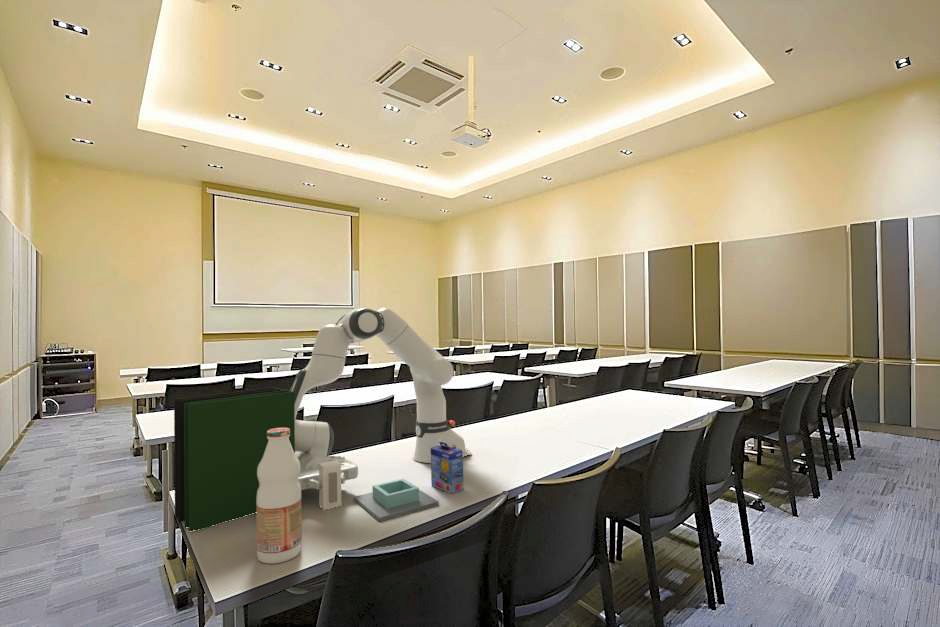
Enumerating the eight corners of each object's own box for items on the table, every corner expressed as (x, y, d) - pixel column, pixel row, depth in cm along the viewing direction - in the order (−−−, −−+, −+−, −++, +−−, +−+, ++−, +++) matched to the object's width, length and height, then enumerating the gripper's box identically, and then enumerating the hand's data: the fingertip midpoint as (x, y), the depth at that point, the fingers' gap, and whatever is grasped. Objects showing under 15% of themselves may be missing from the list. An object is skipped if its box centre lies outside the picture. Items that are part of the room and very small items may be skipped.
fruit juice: (260, 569, 98) (258, 437, 98) (254, 551, 106) (253, 428, 106) (306, 556, 103) (304, 431, 103) (297, 540, 111) (295, 423, 111)
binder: (190, 533, 115) (189, 405, 115) (173, 517, 125) (172, 398, 125) (295, 501, 135) (294, 391, 135) (273, 489, 145) (272, 387, 145)
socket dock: (409, 486, 145) (409, 472, 145) (438, 505, 130) (438, 489, 131) (354, 500, 135) (353, 484, 135) (379, 521, 120) (379, 504, 120)
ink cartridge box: (430, 486, 145) (429, 440, 146) (443, 481, 149) (442, 436, 149) (451, 494, 138) (450, 446, 139) (464, 489, 142) (463, 442, 142)
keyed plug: (336, 501, 134) (336, 460, 134) (342, 507, 130) (342, 464, 130) (319, 505, 131) (318, 463, 131) (324, 511, 127) (324, 467, 127)
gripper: (280, 467, 136) (292, 480, 124) (348, 454, 148) (364, 465, 136) (281, 488, 136) (293, 503, 124) (348, 474, 147) (365, 487, 136)
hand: (331, 483), depth 130 cm, fingers closed on keyed plug, 5 cm apart
